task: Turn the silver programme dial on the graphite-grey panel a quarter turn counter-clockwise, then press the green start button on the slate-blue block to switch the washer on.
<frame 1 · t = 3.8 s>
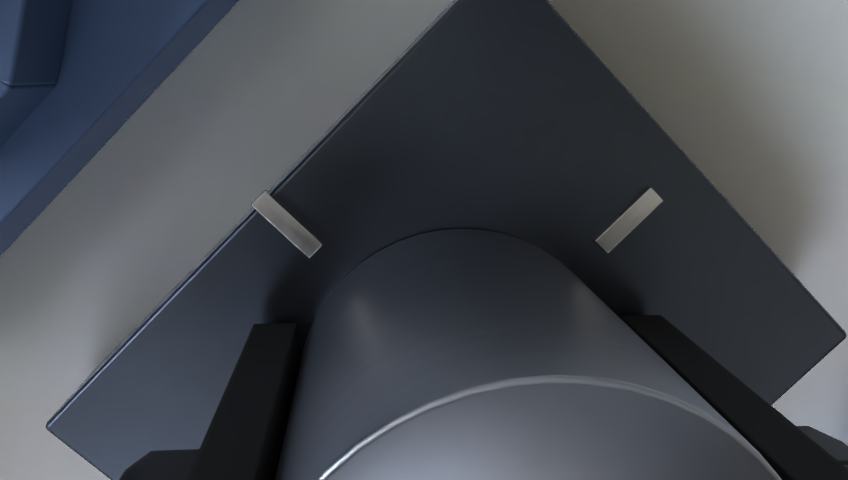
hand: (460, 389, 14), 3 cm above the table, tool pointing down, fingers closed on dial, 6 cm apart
dial panel: (444, 336, 17), on the table
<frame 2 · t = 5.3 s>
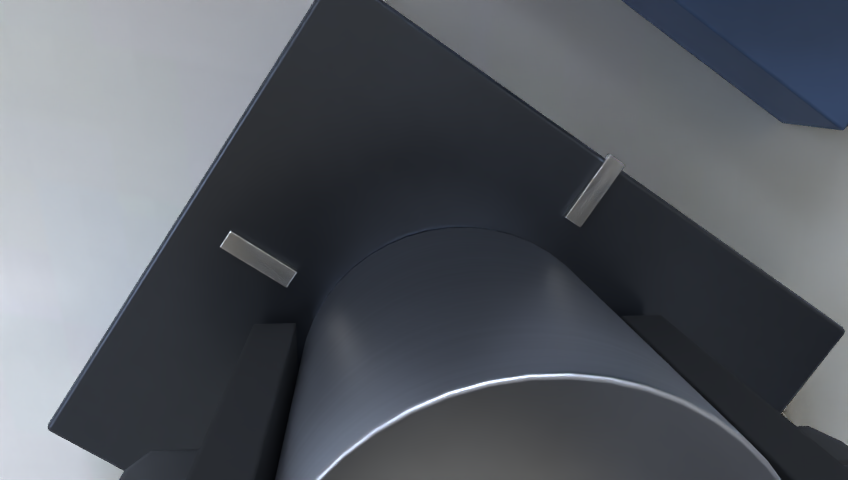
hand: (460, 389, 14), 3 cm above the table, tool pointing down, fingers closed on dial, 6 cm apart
dial: (488, 479, 11), point 6 cm above the table, hinge at 75.7°, touching gripper
dial panel: (444, 335, 17), on the table
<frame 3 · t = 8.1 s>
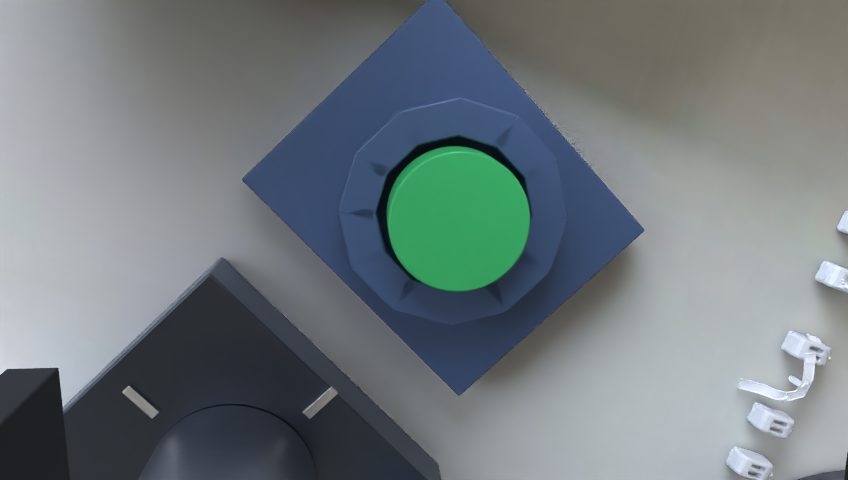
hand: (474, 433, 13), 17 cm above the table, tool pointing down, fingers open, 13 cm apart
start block: (442, 195, 29), on the table
figurines set: (790, 333, 31), on the table
start button: (456, 218, 24), point 4 cm above the table, slide at 0.1 cm
dial panel: (243, 448, 30), on the table
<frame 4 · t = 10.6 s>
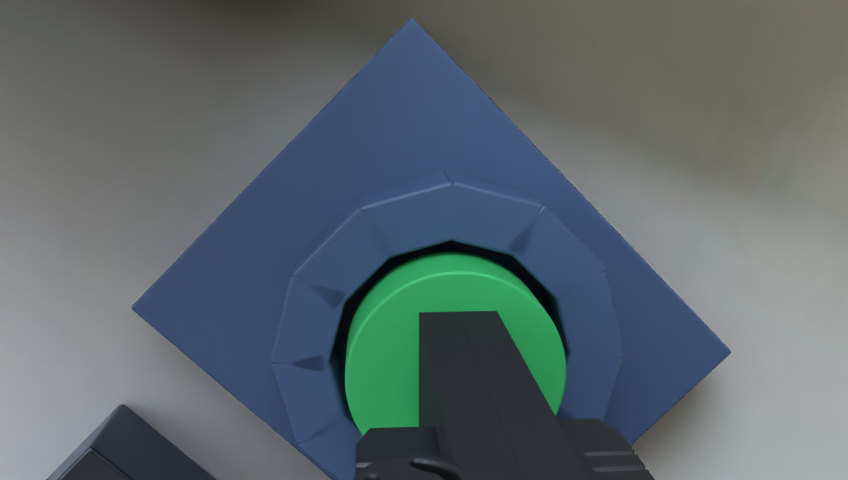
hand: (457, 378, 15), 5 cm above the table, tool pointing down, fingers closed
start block: (434, 304, 20), on the table
start button: (452, 363, 16), point 4 cm above the table, slide at -0.1 cm, touching gripper
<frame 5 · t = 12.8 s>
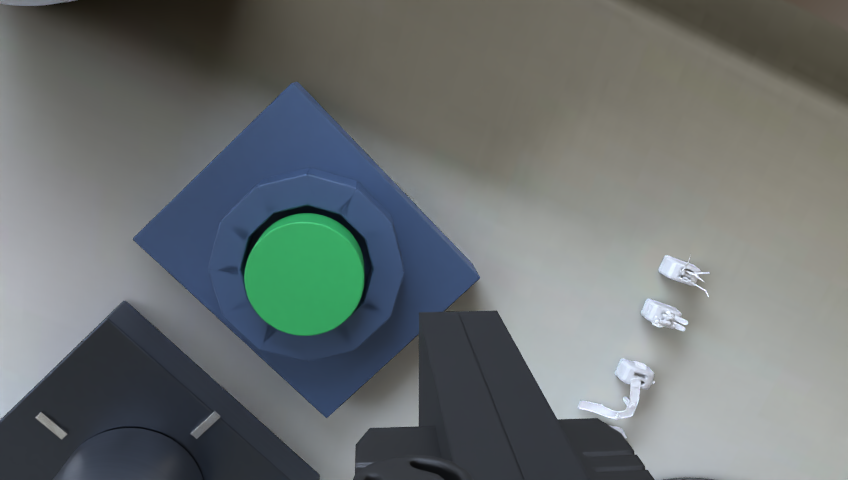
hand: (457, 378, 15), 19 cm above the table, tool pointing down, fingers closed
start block: (313, 246, 33), on the table
figurines set: (623, 360, 36), on the table
start button: (306, 273, 29), point 4 cm above the table, slide at 0.1 cm
dial panel: (149, 462, 35), on the table
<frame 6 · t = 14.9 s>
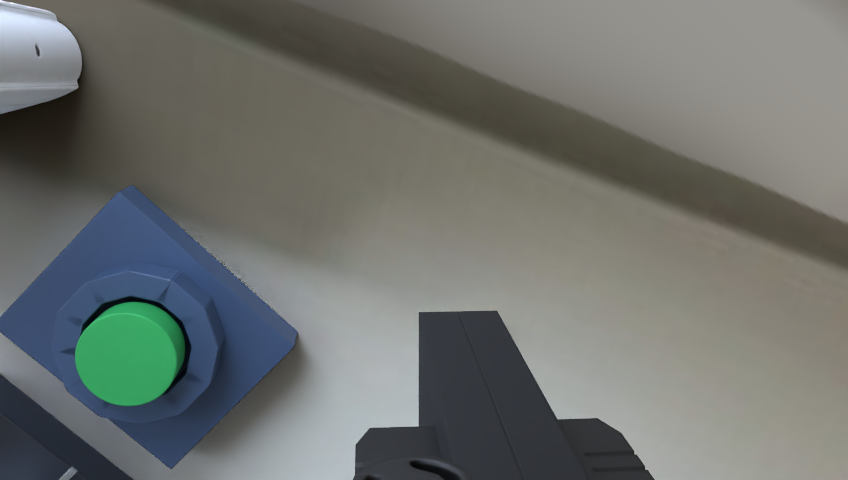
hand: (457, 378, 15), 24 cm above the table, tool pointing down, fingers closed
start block: (157, 321, 39), on the table
start button: (131, 353, 35), point 4 cm above the table, slide at 0.1 cm
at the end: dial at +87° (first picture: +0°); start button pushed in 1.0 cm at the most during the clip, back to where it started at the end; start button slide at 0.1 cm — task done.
